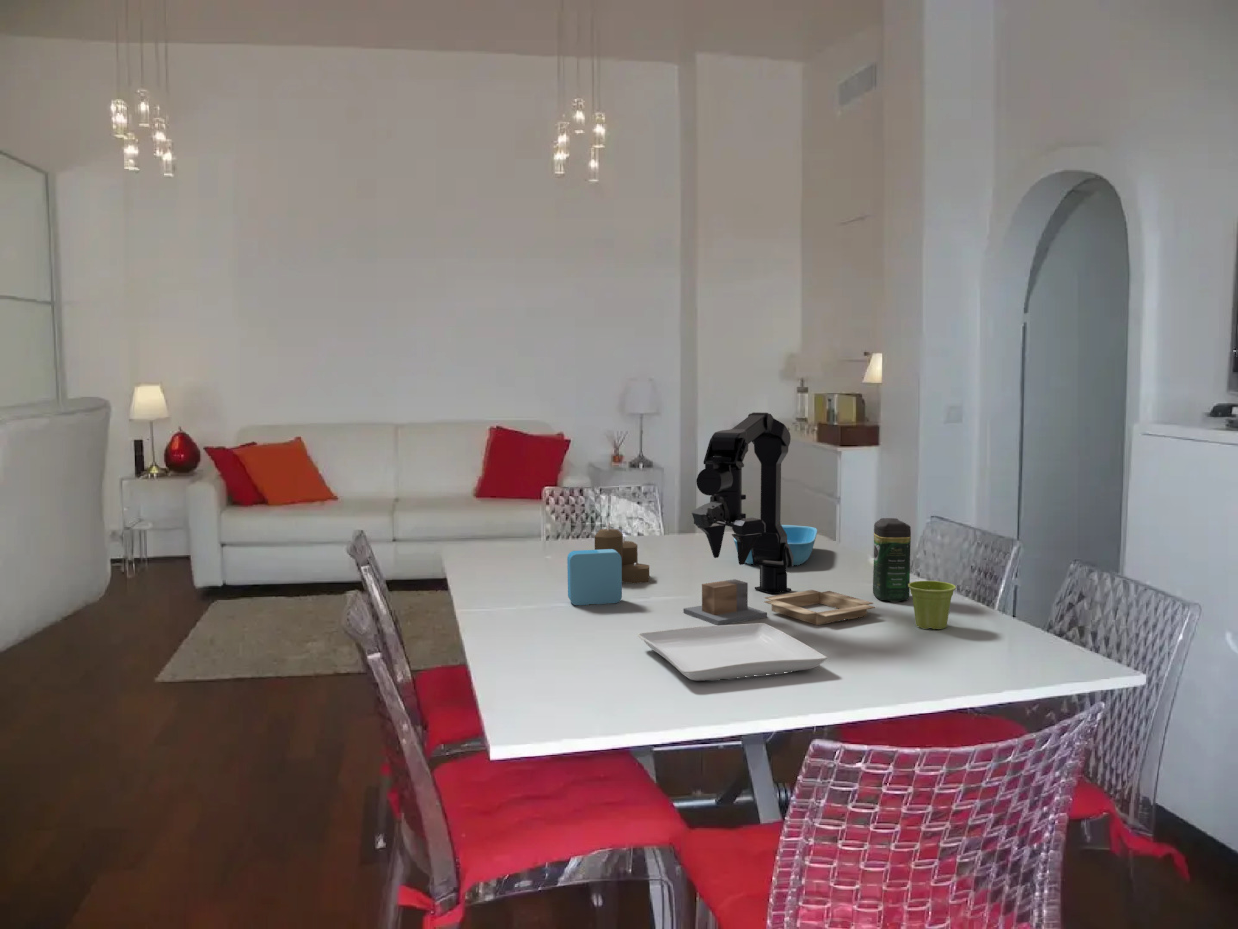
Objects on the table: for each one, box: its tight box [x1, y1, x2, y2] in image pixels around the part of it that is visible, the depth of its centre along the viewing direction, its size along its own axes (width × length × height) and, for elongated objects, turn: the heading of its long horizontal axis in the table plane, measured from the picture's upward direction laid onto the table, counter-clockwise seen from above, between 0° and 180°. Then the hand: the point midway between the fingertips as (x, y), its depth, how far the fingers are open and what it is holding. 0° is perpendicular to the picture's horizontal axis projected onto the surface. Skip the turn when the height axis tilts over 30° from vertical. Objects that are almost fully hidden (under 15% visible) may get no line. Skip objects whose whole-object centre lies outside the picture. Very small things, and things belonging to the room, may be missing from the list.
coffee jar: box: [872, 517, 912, 603], centre depth 237 cm, size 10×8×19 cm
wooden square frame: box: [763, 589, 876, 626], centre depth 224 cm, size 20×19×2 cm
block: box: [701, 578, 749, 615], centre depth 223 cm, size 4×9×6 cm, turn 121°
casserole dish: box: [733, 524, 818, 567], centre depth 289 cm, size 37×22×7 cm, turn 167°
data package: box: [566, 549, 623, 606], centre depth 236 cm, size 12×4×12 cm, turn 101°
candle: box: [594, 521, 650, 584], centre depth 261 cm, size 14×14×15 cm
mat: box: [683, 605, 768, 626], centre depth 224 cm, size 13×13×1 cm
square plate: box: [637, 622, 828, 681], centre depth 189 cm, size 27×27×4 cm
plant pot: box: [908, 580, 957, 630], centre depth 212 cm, size 9×9×9 cm
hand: (728, 561), depth 223 cm, fingers open, 9 cm apart
